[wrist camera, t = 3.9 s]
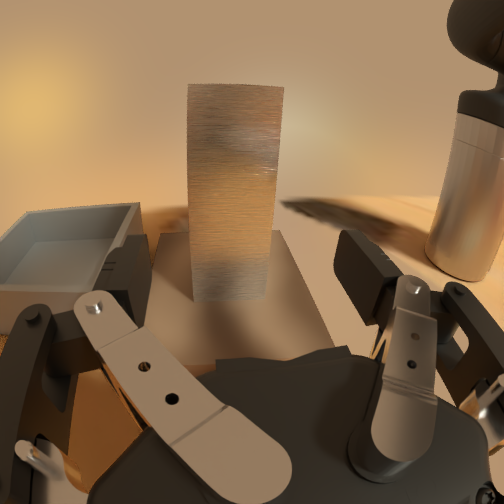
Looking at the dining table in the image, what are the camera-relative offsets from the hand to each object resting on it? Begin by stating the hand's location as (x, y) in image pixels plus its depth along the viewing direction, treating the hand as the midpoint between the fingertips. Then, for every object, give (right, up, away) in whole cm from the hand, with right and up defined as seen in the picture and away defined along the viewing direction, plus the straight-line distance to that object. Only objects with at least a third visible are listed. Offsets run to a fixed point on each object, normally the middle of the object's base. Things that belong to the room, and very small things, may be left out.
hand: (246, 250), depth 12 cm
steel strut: (-2, -2, +11) cm, 11 cm away
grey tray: (-17, -3, +11) cm, 20 cm away
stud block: (-2, -3, +12) cm, 12 cm away
